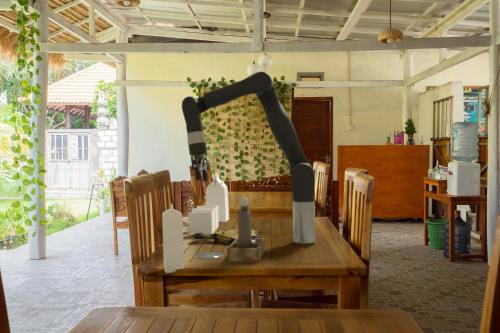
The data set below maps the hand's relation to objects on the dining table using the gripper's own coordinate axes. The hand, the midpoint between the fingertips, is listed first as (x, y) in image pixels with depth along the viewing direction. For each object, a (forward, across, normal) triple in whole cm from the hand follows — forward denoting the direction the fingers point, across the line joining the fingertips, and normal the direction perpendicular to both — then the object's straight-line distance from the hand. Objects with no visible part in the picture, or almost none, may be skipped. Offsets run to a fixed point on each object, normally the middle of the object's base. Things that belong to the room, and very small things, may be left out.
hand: (202, 181), depth 195 cm
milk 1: (+32, -40, +1) cm, 51 cm away
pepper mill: (+32, -24, -20) cm, 45 cm away
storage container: (+22, +33, +14) cm, 42 cm away
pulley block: (+27, +9, -4) cm, 29 cm away
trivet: (+30, -22, -6) cm, 38 cm away
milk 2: (+18, +65, +16) cm, 70 cm away
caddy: (+32, -20, -19) cm, 43 cm away
